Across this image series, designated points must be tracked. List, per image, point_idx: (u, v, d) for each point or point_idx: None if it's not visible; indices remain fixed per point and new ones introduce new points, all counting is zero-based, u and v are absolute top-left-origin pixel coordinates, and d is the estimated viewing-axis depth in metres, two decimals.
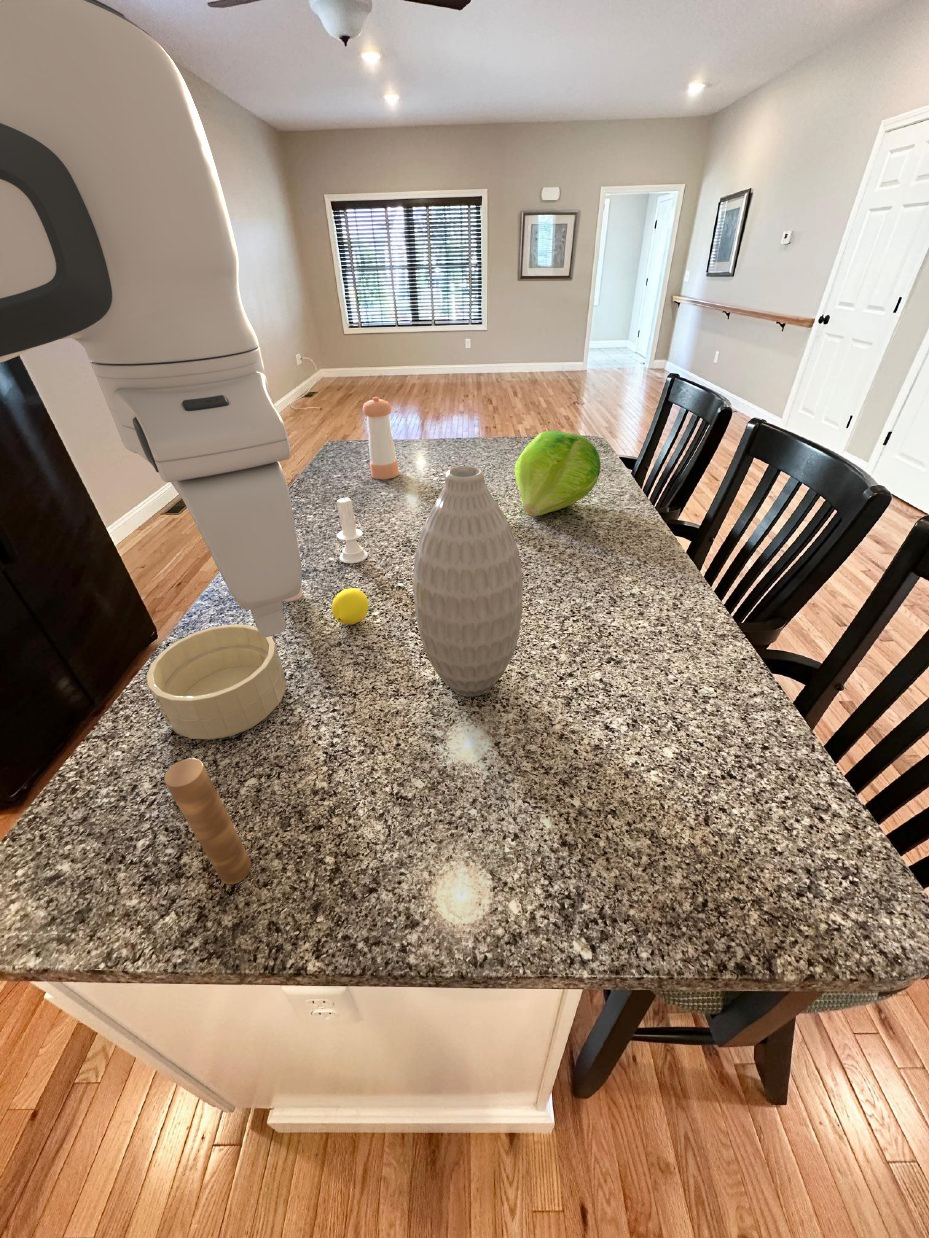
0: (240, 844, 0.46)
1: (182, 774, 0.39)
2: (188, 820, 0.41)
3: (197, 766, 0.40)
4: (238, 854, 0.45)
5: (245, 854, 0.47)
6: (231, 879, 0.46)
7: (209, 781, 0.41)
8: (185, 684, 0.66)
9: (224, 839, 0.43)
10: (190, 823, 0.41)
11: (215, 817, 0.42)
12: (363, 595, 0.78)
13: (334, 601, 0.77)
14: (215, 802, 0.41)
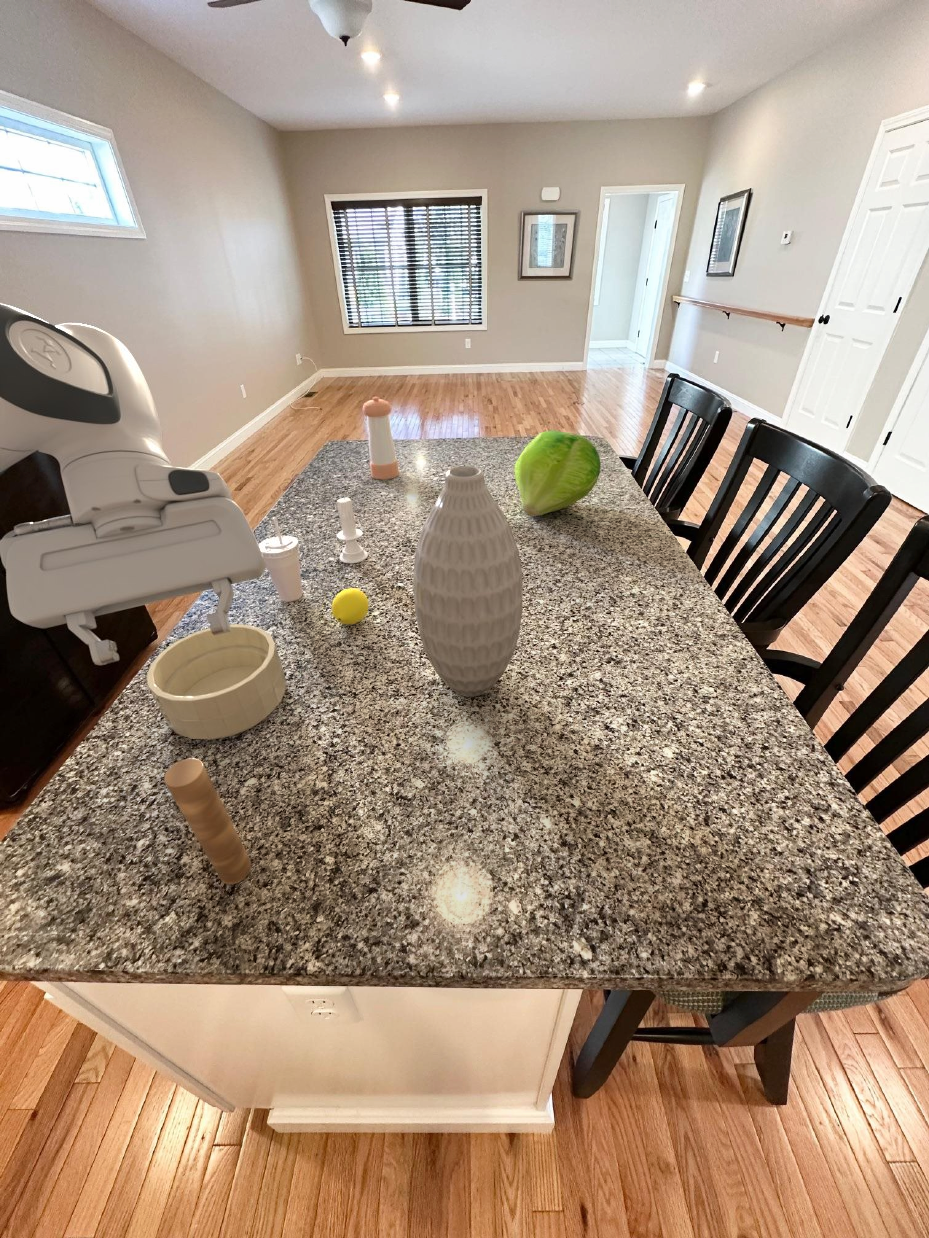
0: (240, 844, 0.46)
1: (182, 774, 0.39)
2: (188, 820, 0.41)
3: (197, 766, 0.40)
4: (238, 854, 0.45)
5: (245, 854, 0.47)
6: (231, 879, 0.46)
7: (209, 781, 0.41)
8: (185, 684, 0.66)
9: (224, 839, 0.43)
10: (190, 823, 0.41)
11: (215, 817, 0.42)
12: (363, 595, 0.78)
13: (334, 601, 0.77)
14: (215, 802, 0.41)
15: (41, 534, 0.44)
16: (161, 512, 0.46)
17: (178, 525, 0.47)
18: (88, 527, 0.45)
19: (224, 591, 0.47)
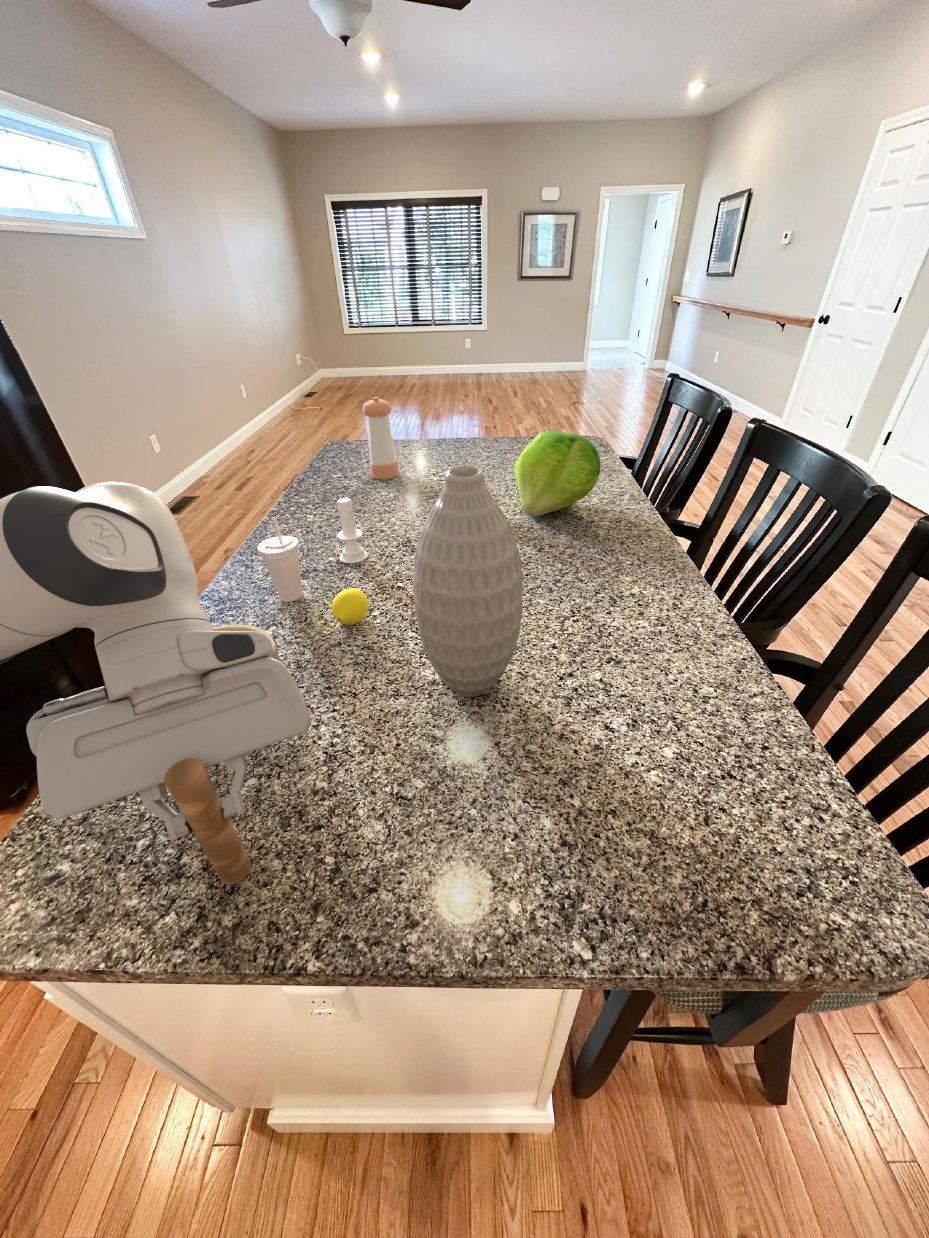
0: (240, 844, 0.46)
1: (182, 774, 0.39)
2: (188, 820, 0.41)
3: (197, 766, 0.40)
4: (238, 854, 0.45)
5: (245, 854, 0.47)
6: (230, 879, 0.46)
7: (209, 781, 0.41)
8: None
9: (223, 839, 0.43)
10: (190, 823, 0.41)
11: (215, 817, 0.42)
12: (363, 595, 0.78)
13: (334, 601, 0.77)
14: (214, 802, 0.41)
15: (75, 716, 0.40)
16: (204, 679, 0.43)
17: (221, 691, 0.44)
18: (126, 703, 0.41)
19: (238, 771, 0.43)
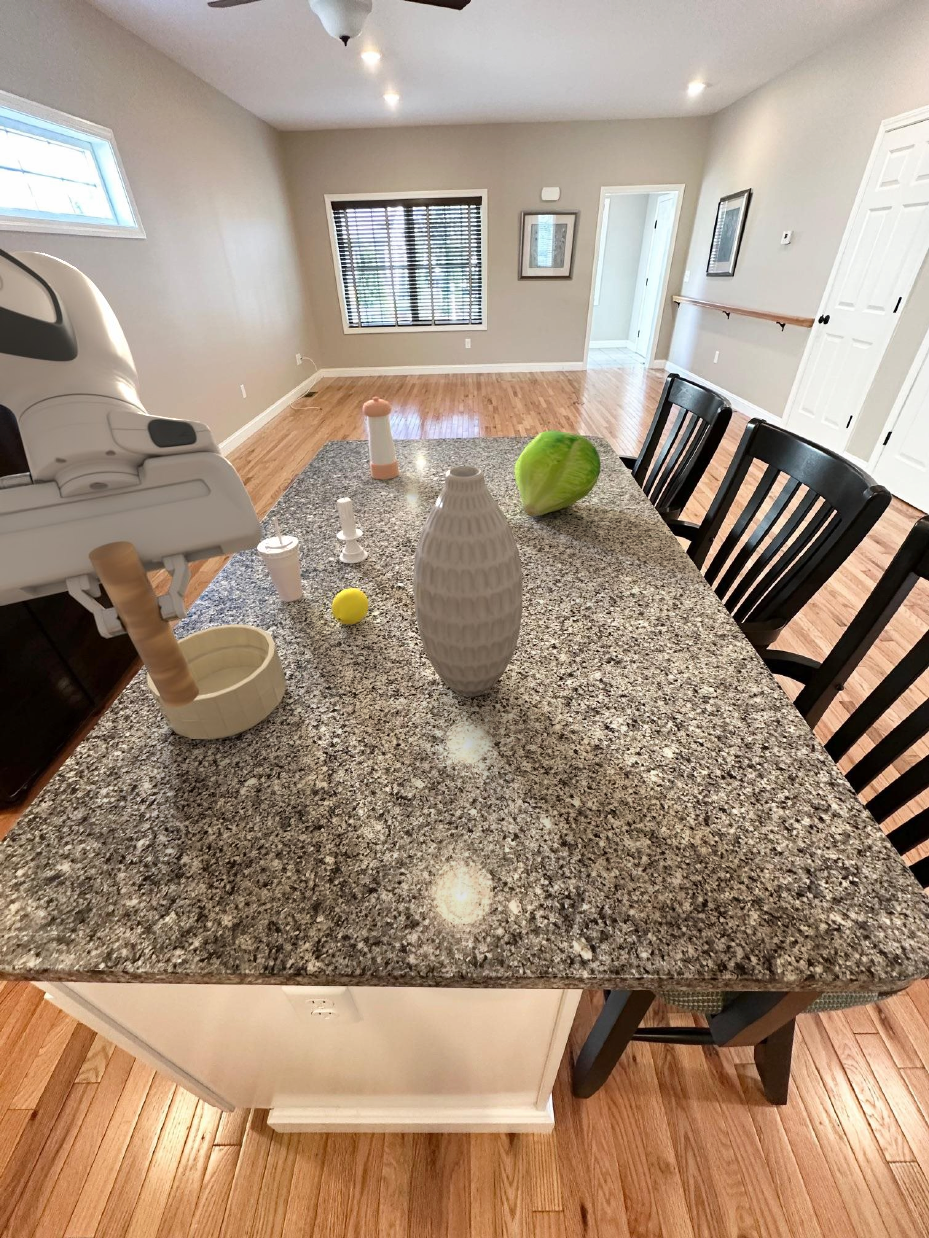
0: (184, 661, 0.42)
1: (109, 551, 0.36)
2: (119, 611, 0.37)
3: (126, 546, 0.36)
4: (181, 669, 0.42)
5: (190, 675, 0.43)
6: (174, 699, 0.42)
7: (141, 567, 0.37)
8: None
9: (162, 644, 0.40)
10: (121, 616, 0.37)
11: (150, 612, 0.38)
12: (363, 595, 0.78)
13: (334, 601, 0.77)
14: (149, 594, 0.38)
15: None
16: (140, 468, 0.40)
17: (160, 484, 0.40)
18: (51, 485, 0.38)
19: (178, 569, 0.39)
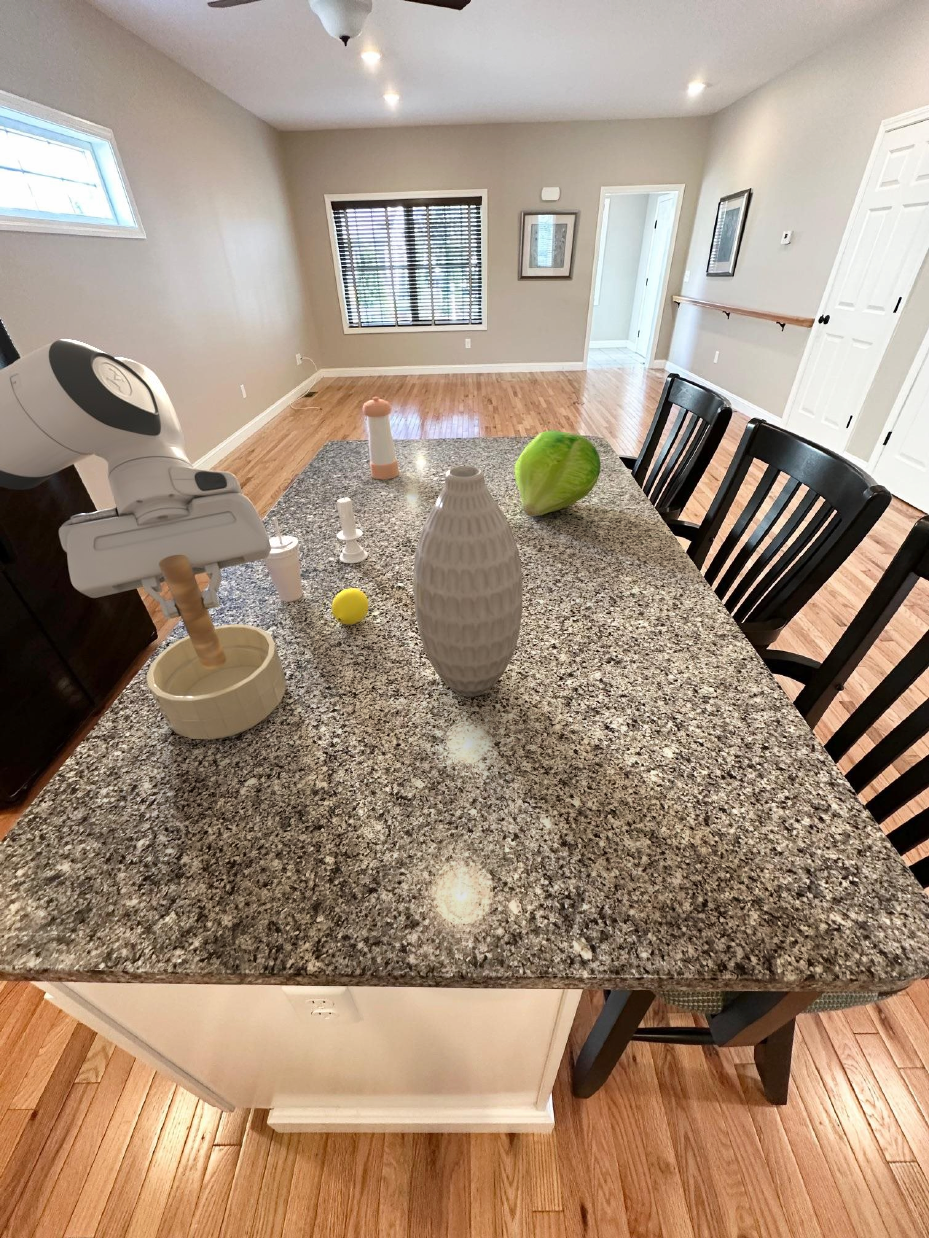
0: (217, 636, 0.61)
1: (172, 561, 0.54)
2: (176, 601, 0.56)
3: (183, 558, 0.55)
4: (215, 642, 0.60)
5: (221, 647, 0.62)
6: (210, 663, 0.61)
7: (192, 571, 0.56)
8: (185, 684, 0.66)
9: (204, 623, 0.58)
10: (178, 604, 0.56)
11: (197, 601, 0.57)
12: (363, 595, 0.78)
13: (334, 601, 0.77)
14: (196, 589, 0.56)
15: (94, 522, 0.55)
16: (188, 505, 0.58)
17: (202, 515, 0.58)
18: (131, 516, 0.56)
19: (214, 573, 0.58)
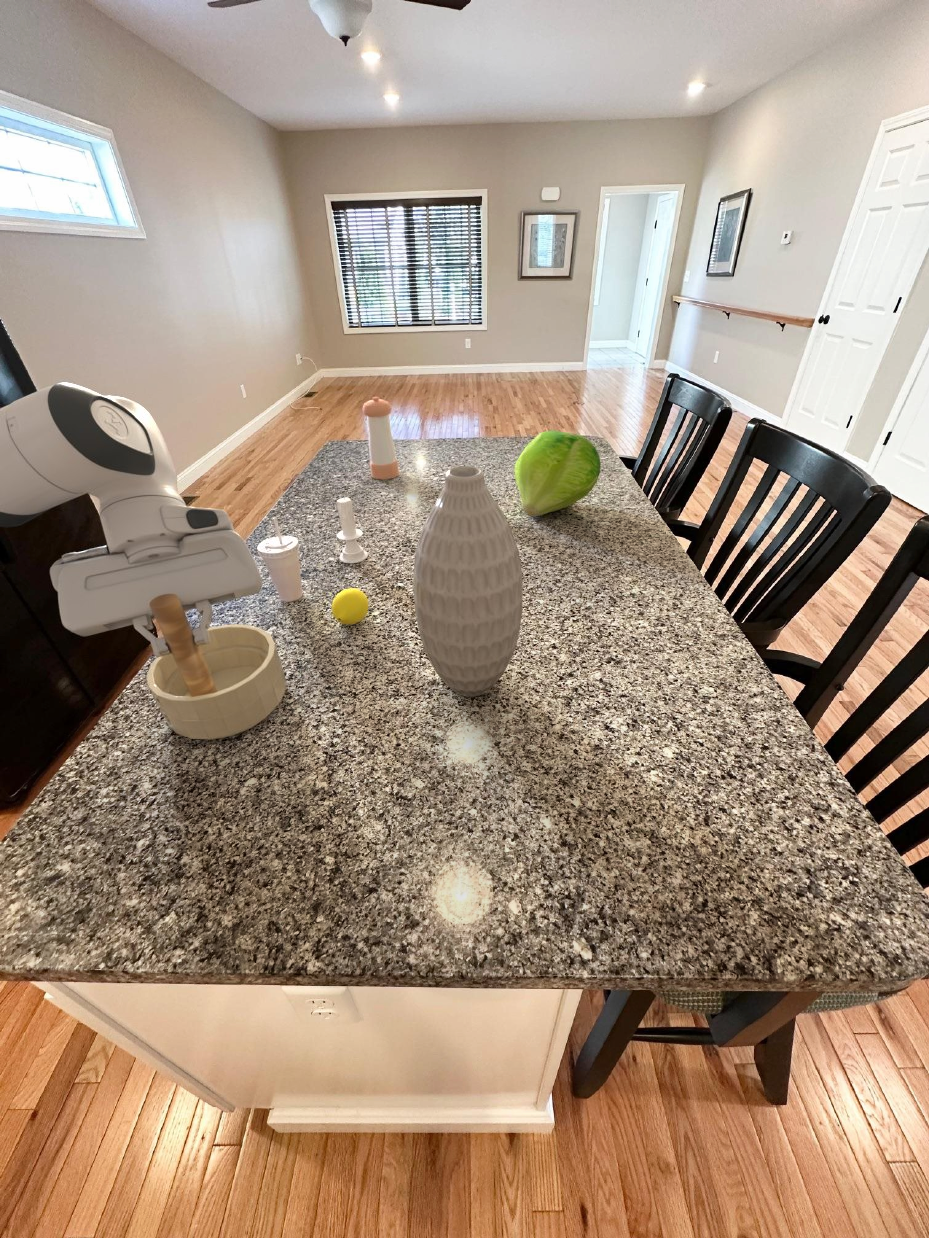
0: (208, 672, 0.61)
1: (162, 601, 0.54)
2: (167, 640, 0.56)
3: (173, 597, 0.55)
4: (206, 678, 0.60)
5: (212, 682, 0.62)
6: None
7: (182, 610, 0.56)
8: (185, 684, 0.66)
9: (194, 661, 0.58)
10: (169, 642, 0.56)
11: (187, 640, 0.57)
12: (363, 595, 0.78)
13: (334, 601, 0.77)
14: (187, 628, 0.56)
15: (85, 561, 0.55)
16: (180, 542, 0.58)
17: (193, 552, 0.59)
18: (122, 555, 0.56)
19: (206, 610, 0.58)
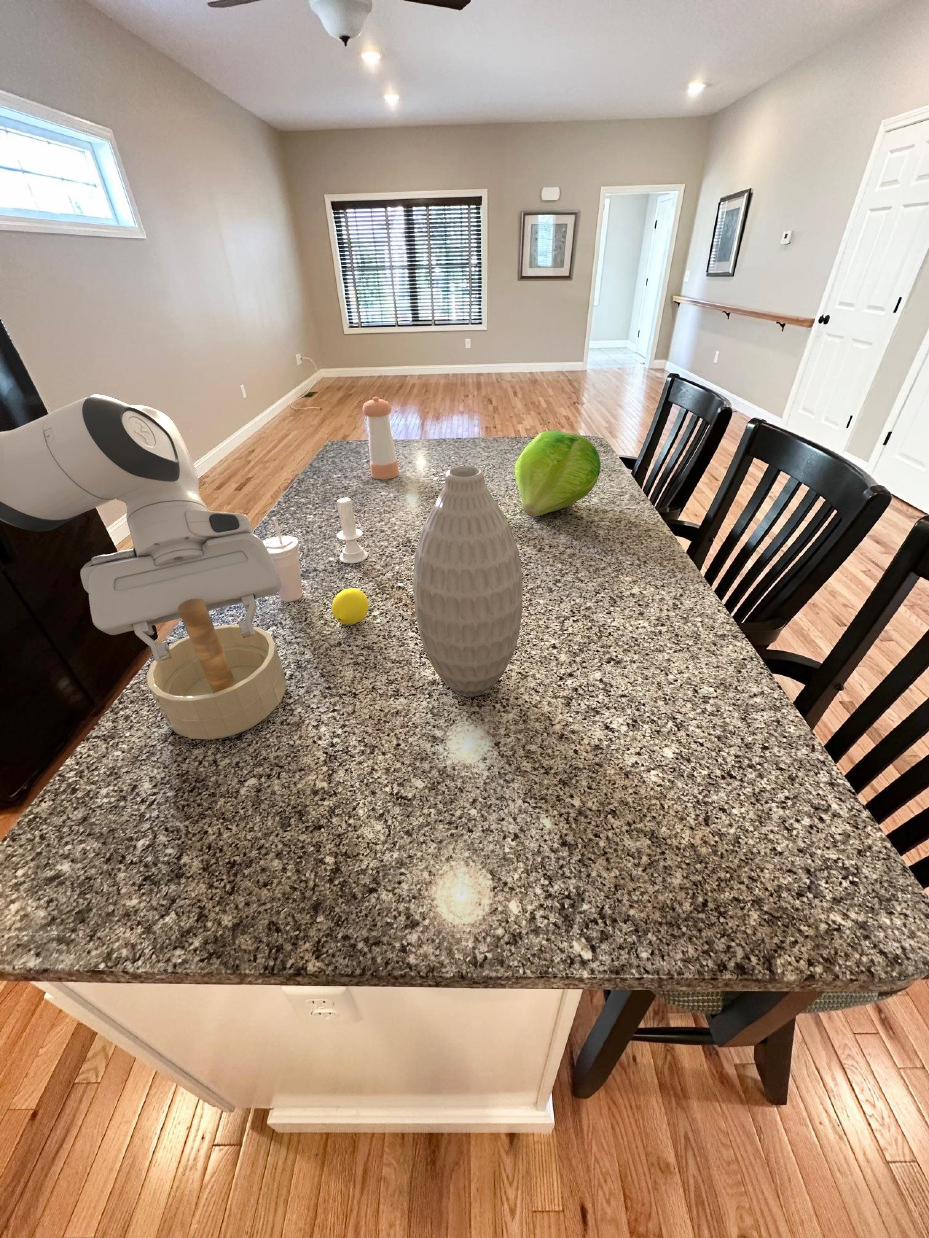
0: (230, 672, 0.64)
1: (190, 606, 0.57)
2: (194, 642, 0.59)
3: (200, 602, 0.58)
4: (229, 678, 0.63)
5: (234, 682, 0.65)
6: None
7: (208, 614, 0.59)
8: (185, 684, 0.66)
9: (219, 662, 0.61)
10: (195, 645, 0.59)
11: (212, 642, 0.60)
12: (363, 595, 0.78)
13: (334, 601, 0.77)
14: (212, 631, 0.60)
15: (114, 564, 0.58)
16: (203, 545, 0.61)
17: (215, 555, 0.61)
18: (148, 558, 0.59)
19: (251, 604, 0.62)
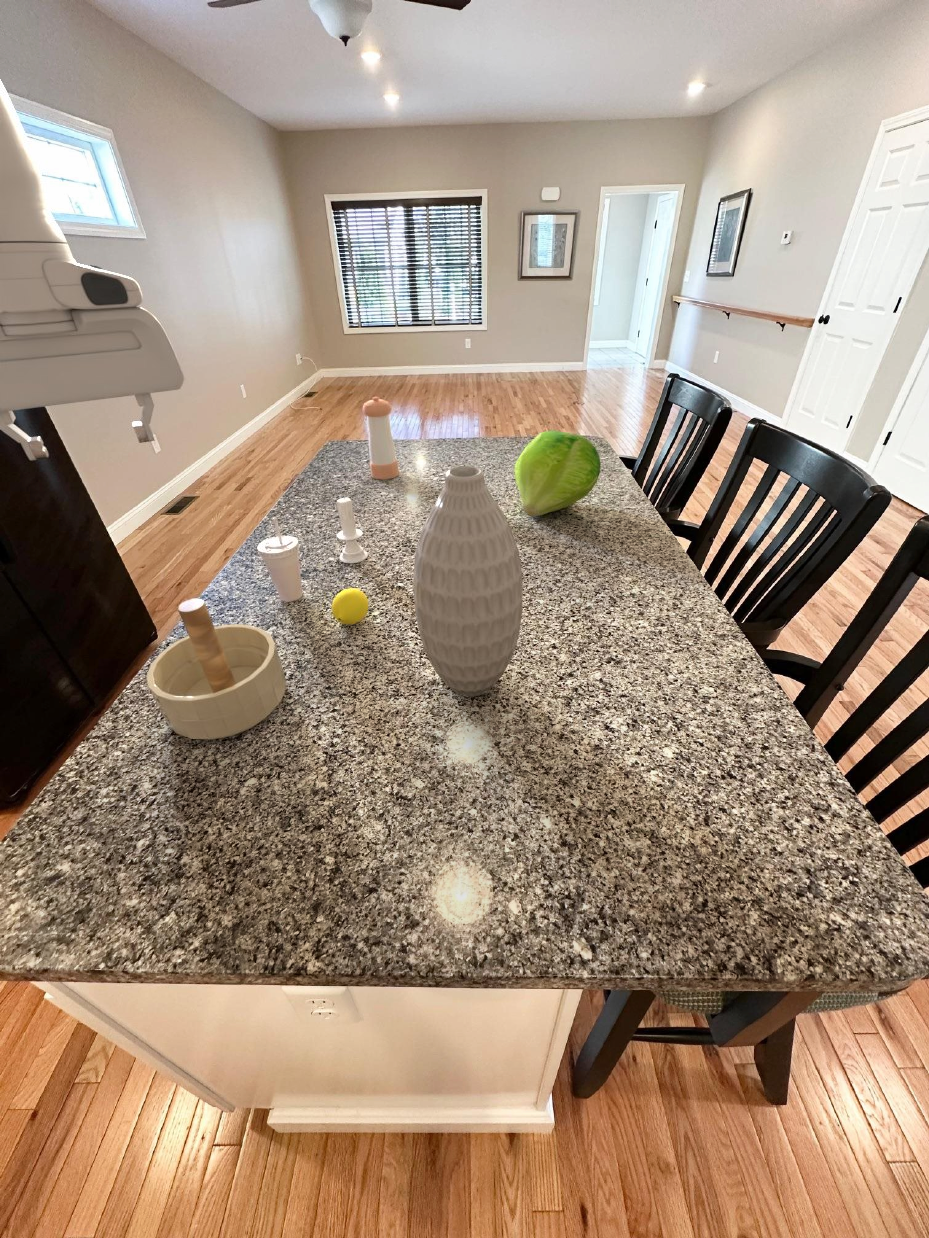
0: (230, 672, 0.64)
1: (190, 606, 0.57)
2: (194, 642, 0.59)
3: (200, 602, 0.58)
4: (229, 678, 0.63)
5: (234, 682, 0.65)
6: None
7: (208, 614, 0.59)
8: (185, 684, 0.66)
9: (219, 662, 0.61)
10: (195, 645, 0.59)
11: (212, 642, 0.60)
12: (363, 595, 0.78)
13: (334, 601, 0.77)
14: (212, 631, 0.60)
15: None
16: (74, 314, 0.45)
17: (94, 332, 0.47)
18: None
19: (148, 406, 0.52)
